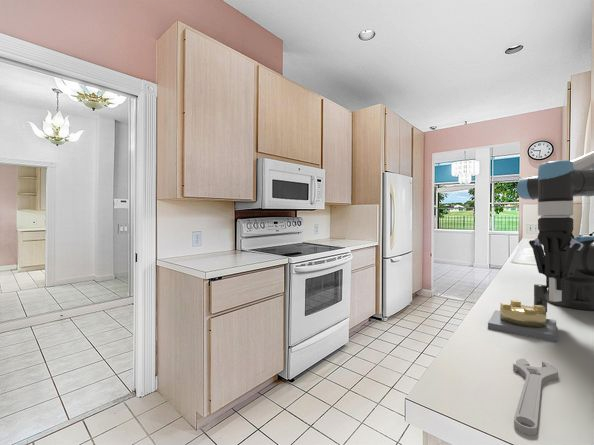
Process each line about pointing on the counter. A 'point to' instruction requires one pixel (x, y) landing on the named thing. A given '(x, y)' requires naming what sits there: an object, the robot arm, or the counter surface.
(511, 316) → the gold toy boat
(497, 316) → the base
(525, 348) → the counter surface
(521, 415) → the adjustable wrench
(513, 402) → the counter surface
